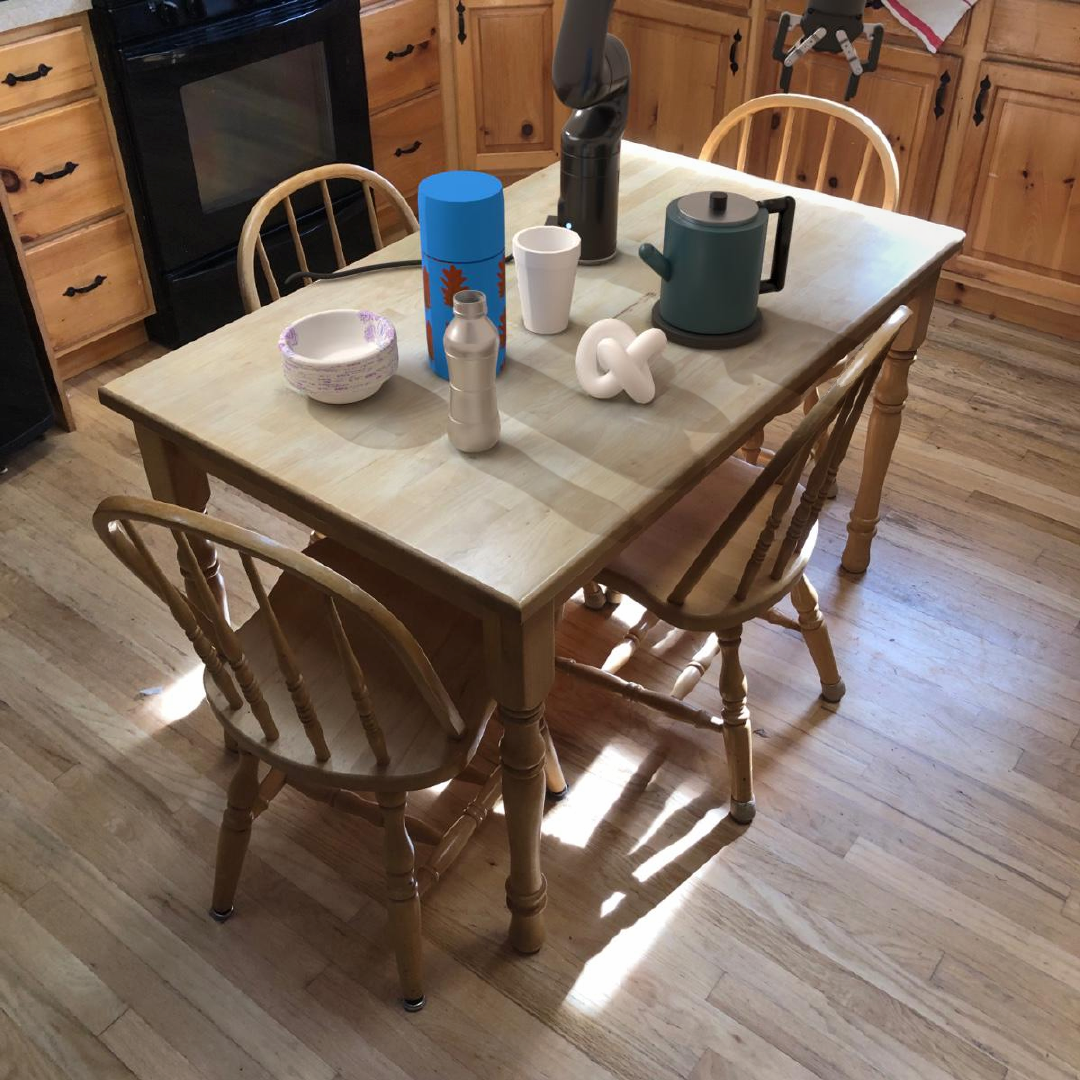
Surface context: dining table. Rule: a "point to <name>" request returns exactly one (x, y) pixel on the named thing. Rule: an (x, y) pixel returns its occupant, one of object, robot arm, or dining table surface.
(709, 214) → the kettle
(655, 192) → the dining table surface
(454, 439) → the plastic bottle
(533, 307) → the foam cup
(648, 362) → the white knot sculpture
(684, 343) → the kettle base
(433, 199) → the thermos
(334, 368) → the paper bowls
